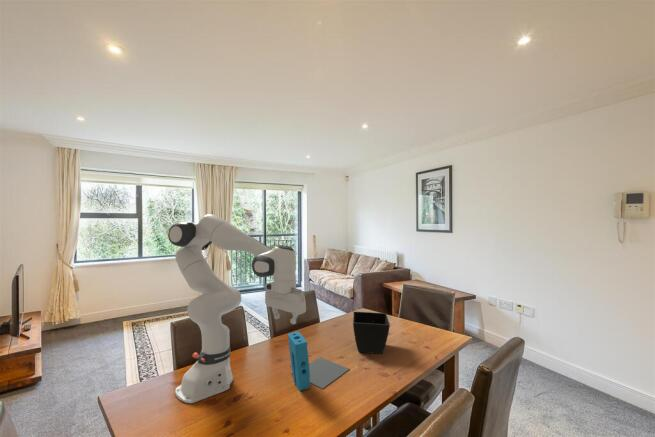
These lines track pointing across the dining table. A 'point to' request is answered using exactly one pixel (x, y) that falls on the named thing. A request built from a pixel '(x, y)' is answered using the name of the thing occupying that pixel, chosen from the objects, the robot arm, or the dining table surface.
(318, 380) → the charcoal mat
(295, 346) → the block
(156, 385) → the dining table surface
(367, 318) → the flower pot
